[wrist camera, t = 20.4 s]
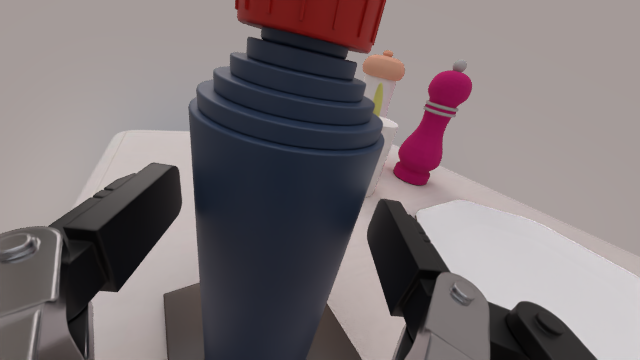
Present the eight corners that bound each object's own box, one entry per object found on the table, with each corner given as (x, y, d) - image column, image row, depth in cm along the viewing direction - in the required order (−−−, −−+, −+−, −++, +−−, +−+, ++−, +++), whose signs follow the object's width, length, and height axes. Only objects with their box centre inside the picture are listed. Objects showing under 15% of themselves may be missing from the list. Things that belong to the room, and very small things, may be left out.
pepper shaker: (336, 147, 49) (362, 45, 40) (368, 153, 50) (402, 55, 41) (340, 162, 43) (373, 44, 34) (377, 168, 44) (419, 56, 35)
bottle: (217, 432, 11) (199, -640, 1) (196, 309, 15) (159, -147, 6) (329, 358, 14) (532, -86, 5) (285, 276, 19) (350, -41, 9)
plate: (478, 198, 41) (483, 191, 41) (761, 359, 22) (778, 352, 21) (367, 232, 27) (371, 222, 26) (929, 807, 7) (1005, 830, 7)
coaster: (180, 522, 9) (178, 520, 9) (164, 299, 16) (163, 293, 15) (365, 373, 14) (368, 369, 14) (294, 256, 21) (295, 252, 21)
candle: (381, 198, 34) (424, 93, 27) (340, 196, 32) (375, 83, 25) (365, 177, 39) (397, 84, 32) (329, 174, 37) (355, 75, 30)
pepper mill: (430, 177, 45) (486, 67, 36) (427, 192, 39) (493, 63, 30) (394, 164, 48) (438, 57, 38) (387, 175, 42) (436, 52, 32)
